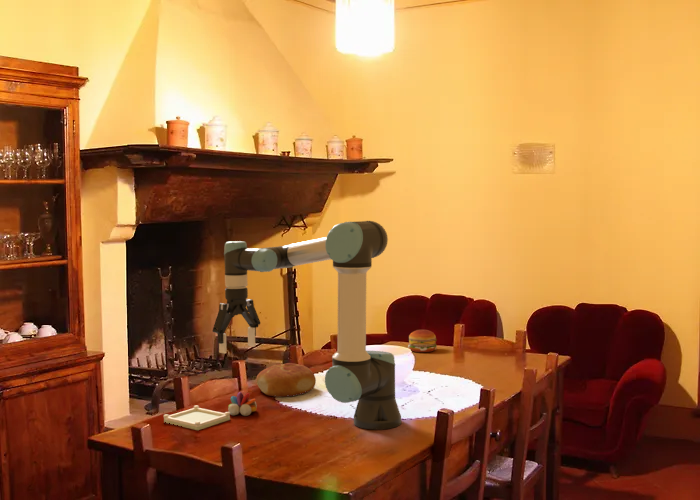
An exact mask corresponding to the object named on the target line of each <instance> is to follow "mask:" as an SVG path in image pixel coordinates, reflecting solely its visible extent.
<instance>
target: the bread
mask: <svg viewBox="0 0 700 500" xmlns="http://www.w3.org/2000/svg"><path fill="white" fill-rule="evenodd" d="M255 380H256V384H257V386H258V388H259V389H260V391H261V392H262V393H263V394H265V395H266V396H271V397H280V398H281V397H282V398H286V397H295V396H300V395H303V394H306V393H307V394H308V392H311V391H312V389H314V388H315V386H316V383H317V382H316V381H317V380H316V375H315V373H313V371H312V370H311V369H310V368H309V367H308V366H305V365H303V364H297V363H294V362H293V363H292V362H287V363H283V364H282V363H278V364H273V365H270V366H269V367H267V368H264V369H263V370H261V371H259V373H258V374H257V375H256V379H255Z"/></svg>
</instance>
